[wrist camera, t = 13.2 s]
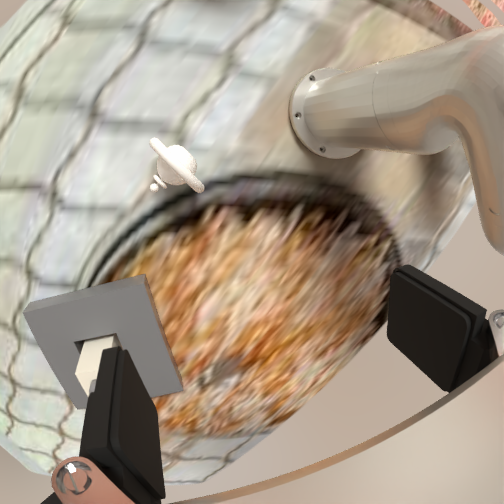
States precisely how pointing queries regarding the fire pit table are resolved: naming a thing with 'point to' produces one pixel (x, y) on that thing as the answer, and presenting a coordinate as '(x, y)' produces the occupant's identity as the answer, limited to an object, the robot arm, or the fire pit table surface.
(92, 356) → the plug
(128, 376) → the robot arm
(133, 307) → the socket plate
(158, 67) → the fire pit table surface
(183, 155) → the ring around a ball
